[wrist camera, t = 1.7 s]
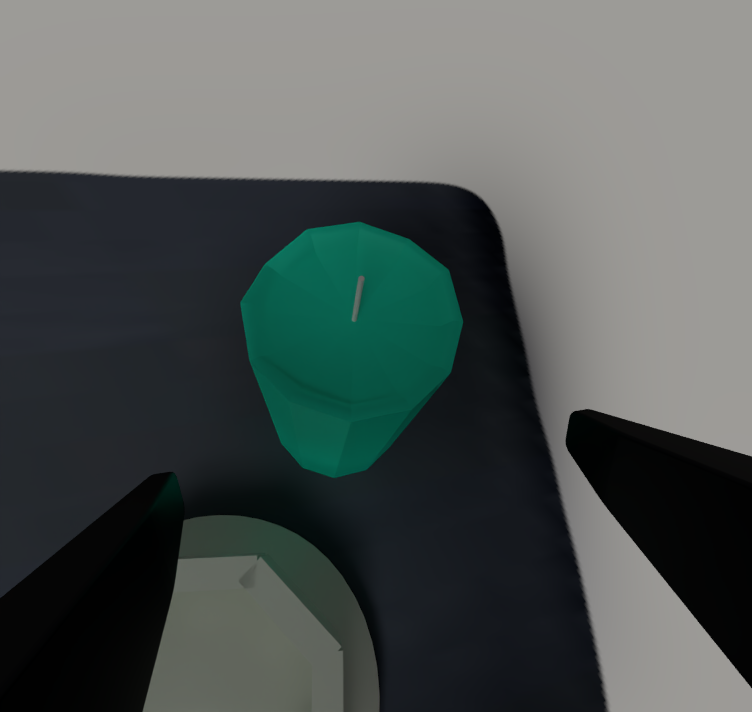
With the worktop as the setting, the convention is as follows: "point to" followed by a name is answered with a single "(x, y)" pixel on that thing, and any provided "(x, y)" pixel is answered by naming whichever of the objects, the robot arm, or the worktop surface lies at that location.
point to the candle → (349, 341)
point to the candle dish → (260, 626)
